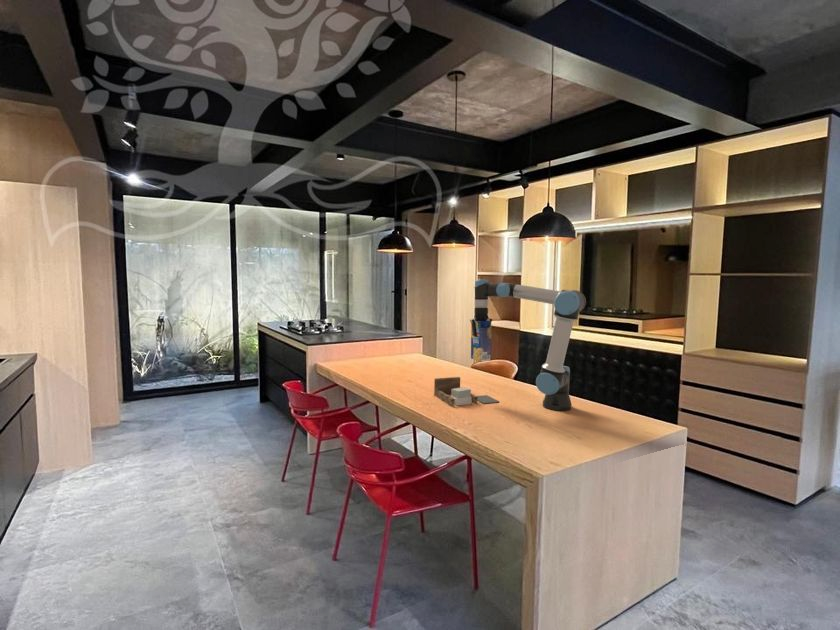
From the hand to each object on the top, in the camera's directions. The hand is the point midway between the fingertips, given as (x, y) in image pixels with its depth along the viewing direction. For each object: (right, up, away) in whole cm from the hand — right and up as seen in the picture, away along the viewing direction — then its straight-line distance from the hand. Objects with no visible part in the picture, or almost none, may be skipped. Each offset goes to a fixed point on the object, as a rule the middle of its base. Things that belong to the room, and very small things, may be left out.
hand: (481, 348), depth 257 cm
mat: (+3, -29, +2) cm, 30 cm away
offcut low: (-12, -30, -4) cm, 33 cm away
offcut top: (-12, -26, -4) cm, 29 cm away
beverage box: (0, -6, 0) cm, 6 cm away
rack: (-14, -29, +2) cm, 33 cm away
